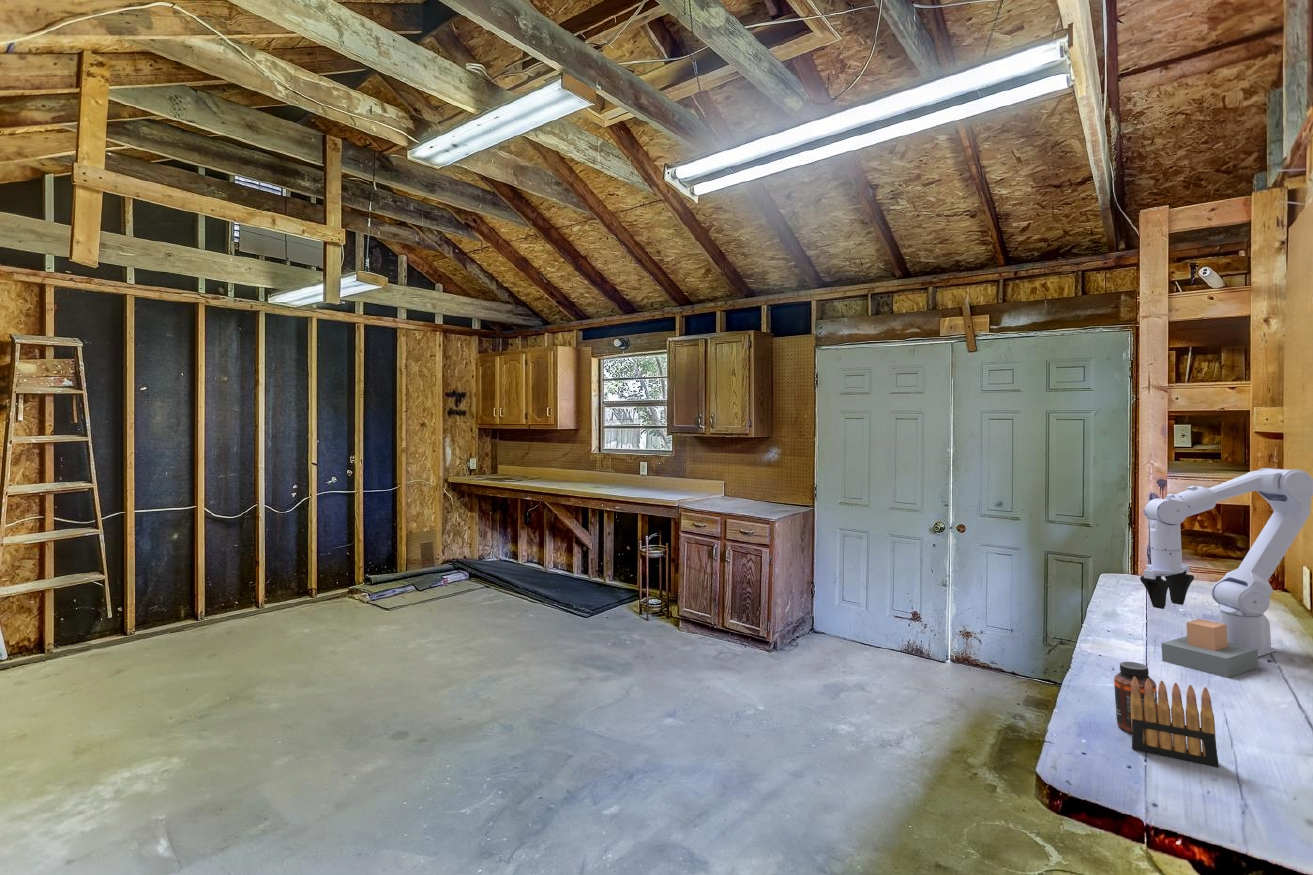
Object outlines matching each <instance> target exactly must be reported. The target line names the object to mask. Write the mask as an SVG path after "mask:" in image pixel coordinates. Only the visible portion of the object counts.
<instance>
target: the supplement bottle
mask: <svg viewBox="0 0 1313 875" xmlns="http://www.w3.org/2000/svg"><path fill="white" fill-rule="evenodd" d="M1149 674H1150V673H1149V667H1148V666H1147V665H1145V664H1143V663H1140V662H1136V661H1135V662H1133V661H1122V662H1120V663H1119V673H1117V674H1115V676H1114V678H1113V683H1114V685H1113V686H1114V698H1115V701H1114V704H1115V716H1116V724H1117V725H1118V727H1119V728H1120V729H1122V730H1124V731H1126V732H1128V733H1130V734H1132V723H1131V705H1130V701H1131V684H1132V680H1133V677H1134V676H1135V677H1136V678H1137V680H1138V683H1139V687H1140V694H1141V700H1142V704H1143V716H1144V695H1145V691H1144V690H1145V683H1146V680H1147V679H1149V680H1150V681H1151V684H1152V687H1153V692H1154V699H1155V704H1156V710H1157V705H1158V689H1157V684H1156V682H1155V680H1153V678H1151V677H1150V675H1149ZM1157 720H1158V713H1157ZM1144 730H1145V729H1144ZM1158 733H1159V731H1158Z"/></svg>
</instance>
